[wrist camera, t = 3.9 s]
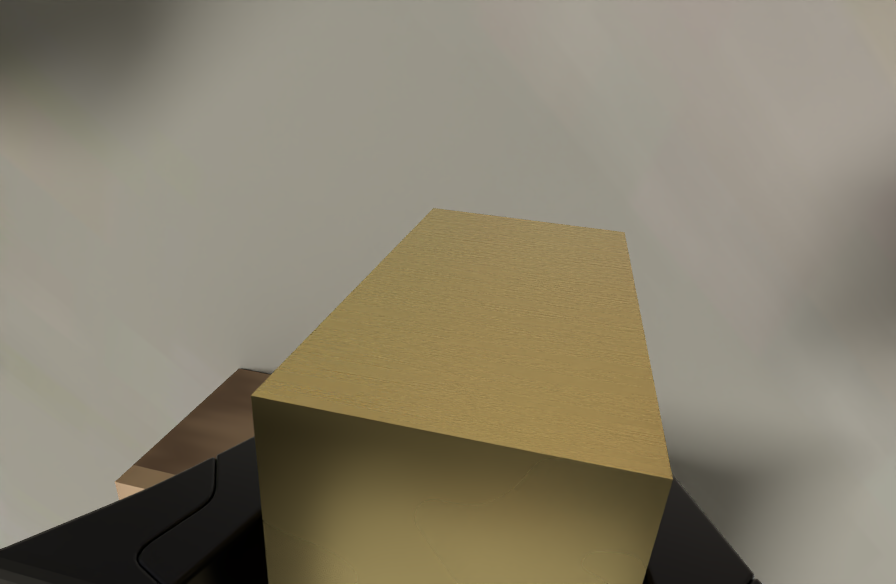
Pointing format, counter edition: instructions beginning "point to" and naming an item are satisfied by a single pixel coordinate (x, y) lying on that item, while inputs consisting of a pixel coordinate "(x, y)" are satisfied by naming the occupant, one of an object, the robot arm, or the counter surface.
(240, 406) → the tan block with hole
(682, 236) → the counter surface
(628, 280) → the block
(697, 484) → the counter surface
